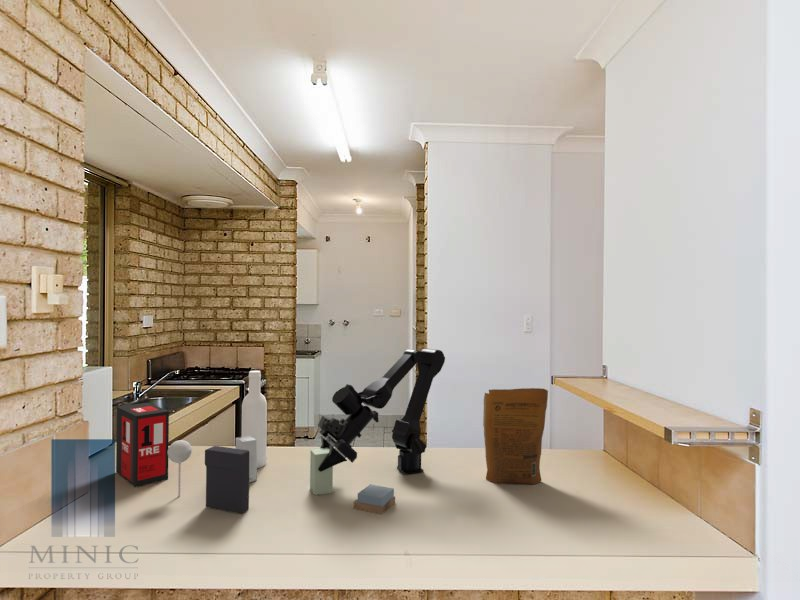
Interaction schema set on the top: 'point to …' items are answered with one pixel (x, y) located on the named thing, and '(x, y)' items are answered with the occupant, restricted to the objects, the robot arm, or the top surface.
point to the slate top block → (375, 495)
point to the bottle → (255, 417)
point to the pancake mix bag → (514, 434)
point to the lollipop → (179, 454)
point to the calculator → (227, 479)
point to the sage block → (320, 473)
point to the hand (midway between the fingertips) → (316, 467)
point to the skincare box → (249, 445)
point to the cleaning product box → (142, 443)
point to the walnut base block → (373, 506)
